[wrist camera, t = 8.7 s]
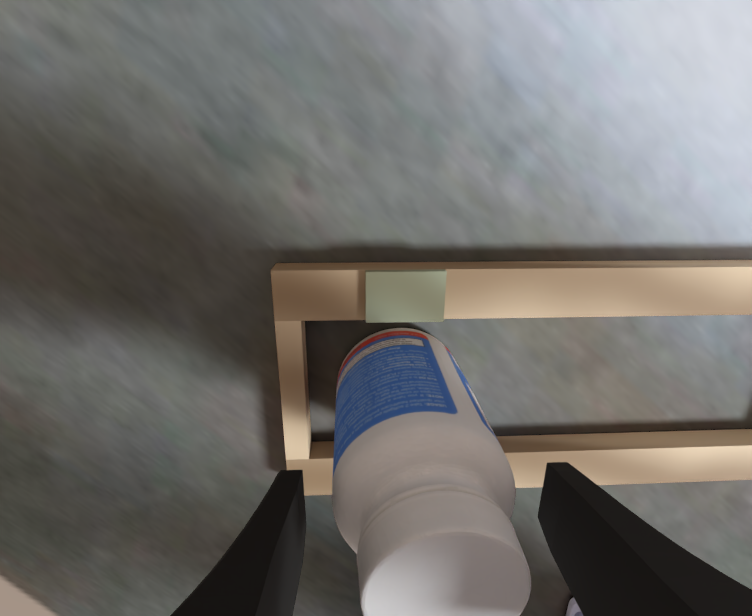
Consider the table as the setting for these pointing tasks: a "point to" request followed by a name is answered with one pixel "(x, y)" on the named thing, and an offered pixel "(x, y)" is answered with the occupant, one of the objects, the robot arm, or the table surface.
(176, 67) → the table surface
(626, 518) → the robot arm
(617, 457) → the open wooden frame
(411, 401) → the pill bottle
